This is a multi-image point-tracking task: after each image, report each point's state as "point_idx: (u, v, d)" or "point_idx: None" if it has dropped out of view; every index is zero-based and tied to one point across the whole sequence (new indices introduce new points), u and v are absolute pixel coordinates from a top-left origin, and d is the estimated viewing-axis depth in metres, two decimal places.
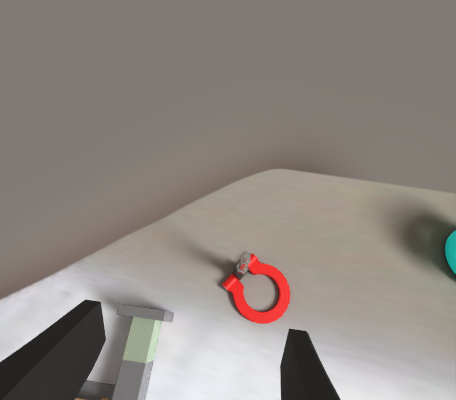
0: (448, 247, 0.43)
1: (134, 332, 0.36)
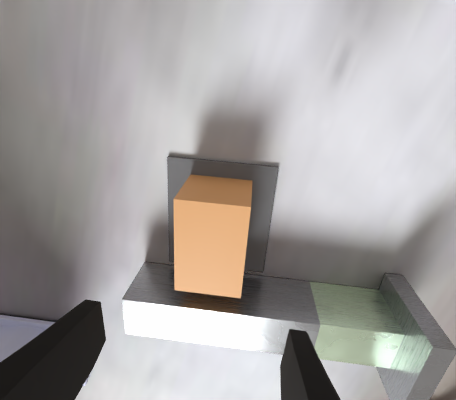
0: None
1: (370, 339, 0.17)
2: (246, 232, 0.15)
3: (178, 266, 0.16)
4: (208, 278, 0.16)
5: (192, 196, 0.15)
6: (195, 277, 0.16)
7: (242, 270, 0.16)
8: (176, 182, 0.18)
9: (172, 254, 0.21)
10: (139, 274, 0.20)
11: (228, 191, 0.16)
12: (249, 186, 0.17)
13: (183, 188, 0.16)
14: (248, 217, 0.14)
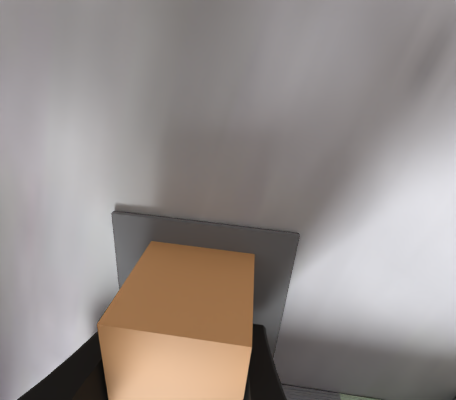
0: None
1: None
2: (242, 384, 0.08)
3: None
4: None
5: (138, 311, 0.08)
6: None
7: None
8: (129, 252, 0.11)
9: None
10: None
11: (209, 291, 0.09)
12: (248, 273, 0.10)
13: (127, 284, 0.09)
14: (246, 362, 0.07)
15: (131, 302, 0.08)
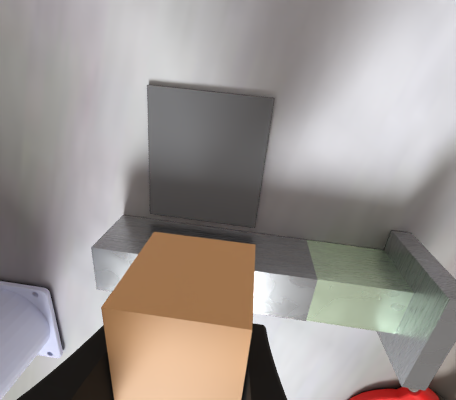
0: None
1: (374, 298, 0.15)
2: (242, 368, 0.08)
3: None
4: None
5: (141, 296, 0.08)
6: None
7: None
8: (158, 117, 0.16)
9: (153, 205, 0.19)
10: (115, 225, 0.18)
11: (211, 278, 0.09)
12: (249, 262, 0.10)
13: (131, 271, 0.09)
14: (246, 345, 0.07)
15: (134, 288, 0.08)
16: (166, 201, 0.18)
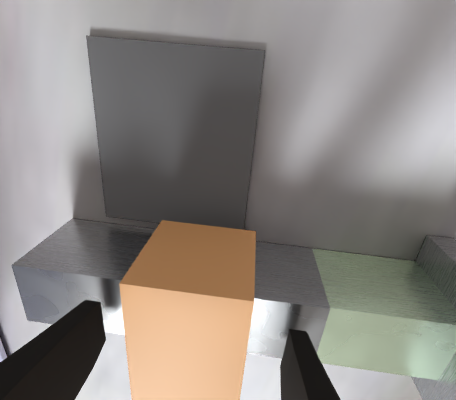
0: None
1: (412, 334, 0.11)
2: (245, 337, 0.09)
3: (135, 377, 0.10)
4: (184, 395, 0.10)
5: (154, 274, 0.09)
6: (163, 392, 0.10)
7: (238, 388, 0.10)
8: (105, 83, 0.12)
9: (109, 205, 0.14)
10: (57, 232, 0.14)
11: (216, 259, 0.10)
12: (251, 246, 0.11)
13: (143, 253, 0.10)
14: (249, 316, 0.08)
15: (147, 267, 0.09)
16: (125, 200, 0.14)
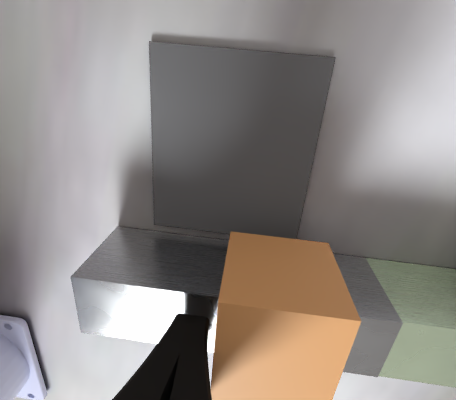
0: None
1: None
2: (344, 357, 0.08)
3: (217, 395, 0.10)
4: None
5: (249, 292, 0.08)
6: None
7: None
8: (164, 89, 0.11)
9: (158, 213, 0.14)
10: (107, 241, 0.13)
11: (303, 275, 0.09)
12: (331, 259, 0.10)
13: (228, 268, 0.09)
14: (352, 336, 0.08)
15: (239, 284, 0.09)
16: (175, 208, 0.14)
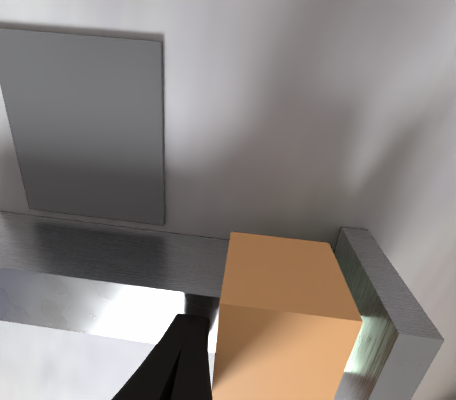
0: None
1: None
2: (346, 357, 0.08)
3: (218, 396, 0.10)
4: None
5: (250, 292, 0.08)
6: None
7: None
8: (11, 74, 0.12)
9: (31, 198, 0.14)
10: None
11: (304, 275, 0.09)
12: (331, 260, 0.10)
13: (229, 269, 0.09)
14: (354, 336, 0.08)
15: (240, 284, 0.09)
16: (45, 192, 0.14)
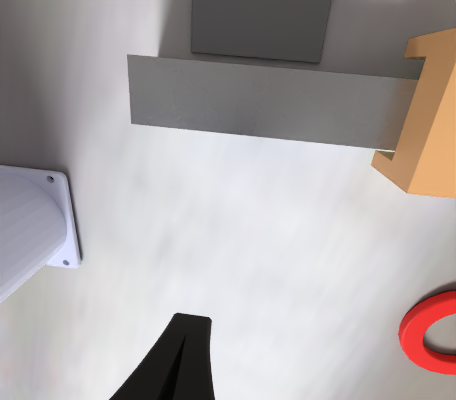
0: None
1: None
2: None
3: (429, 151, 0.11)
4: None
5: None
6: (449, 170, 0.11)
7: None
8: None
9: (195, 39, 0.15)
10: None
11: None
12: None
13: None
14: None
15: None
16: (211, 31, 0.15)
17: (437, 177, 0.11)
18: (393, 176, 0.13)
